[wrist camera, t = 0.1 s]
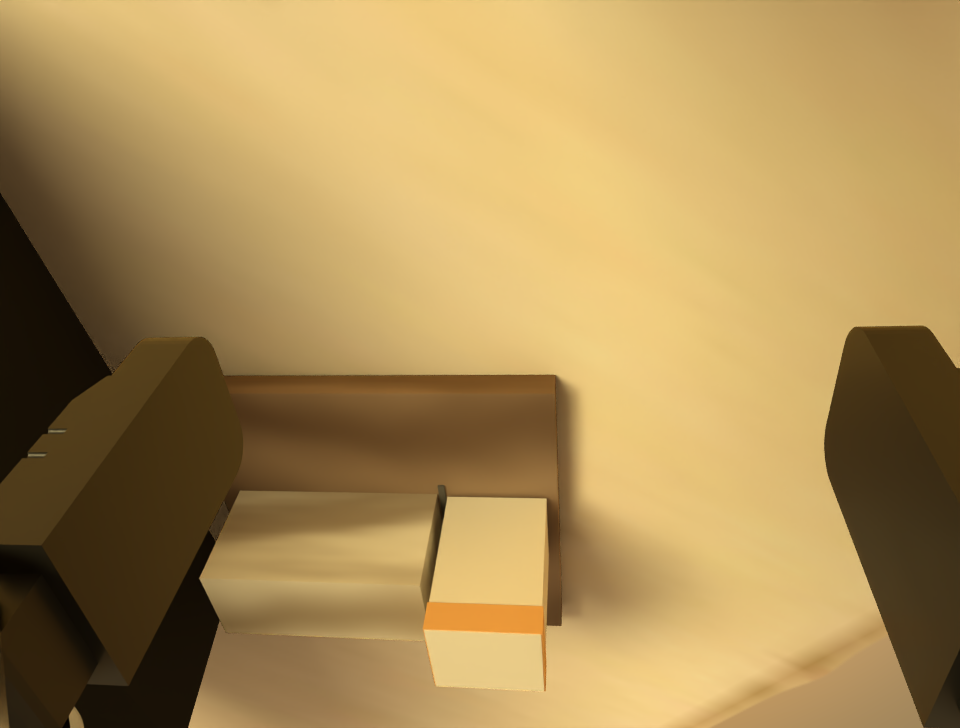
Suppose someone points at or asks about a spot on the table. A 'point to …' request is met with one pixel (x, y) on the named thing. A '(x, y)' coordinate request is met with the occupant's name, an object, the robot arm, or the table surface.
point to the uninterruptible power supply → (27, 416)
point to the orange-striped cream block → (490, 595)
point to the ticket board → (370, 495)
